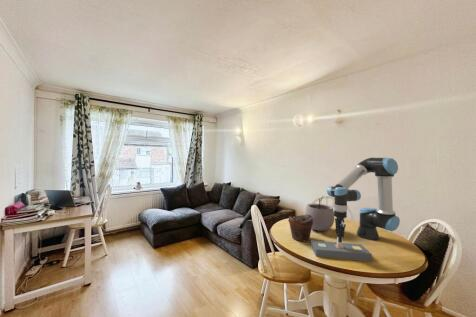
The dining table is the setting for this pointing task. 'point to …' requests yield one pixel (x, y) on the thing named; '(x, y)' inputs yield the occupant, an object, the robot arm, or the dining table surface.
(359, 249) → the ochre button
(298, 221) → the brown tapered container
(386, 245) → the dining table surface
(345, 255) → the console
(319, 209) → the plant pot
